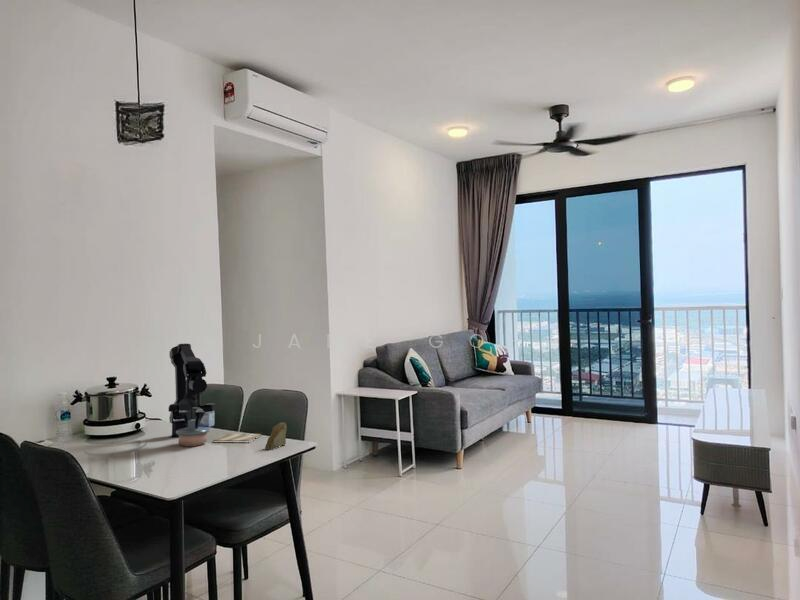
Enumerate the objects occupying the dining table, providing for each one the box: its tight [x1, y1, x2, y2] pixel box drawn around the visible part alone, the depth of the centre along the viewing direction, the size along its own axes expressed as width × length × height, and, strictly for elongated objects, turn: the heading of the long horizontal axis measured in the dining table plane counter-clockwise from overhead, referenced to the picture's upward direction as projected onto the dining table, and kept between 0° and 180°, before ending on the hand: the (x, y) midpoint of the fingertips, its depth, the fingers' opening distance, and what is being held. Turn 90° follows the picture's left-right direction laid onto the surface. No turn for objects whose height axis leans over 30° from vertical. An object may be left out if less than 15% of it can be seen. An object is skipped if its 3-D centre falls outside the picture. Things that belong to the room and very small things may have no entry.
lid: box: [176, 418, 210, 435], centre depth 223 cm, size 13×13×5 cm
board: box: [212, 433, 262, 442], centre depth 232 cm, size 16×14×1 cm
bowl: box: [177, 432, 208, 447], centre depth 223 cm, size 11×11×5 cm
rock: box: [264, 421, 288, 450], centre depth 217 cm, size 11×9×10 cm
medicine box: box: [195, 410, 216, 428], centre depth 266 cm, size 8×4×9 cm, turn 73°
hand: (192, 428), depth 223 cm, fingers closed on lid, 3 cm apart
